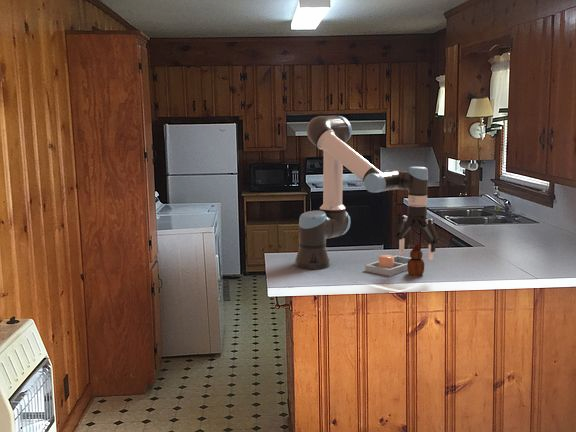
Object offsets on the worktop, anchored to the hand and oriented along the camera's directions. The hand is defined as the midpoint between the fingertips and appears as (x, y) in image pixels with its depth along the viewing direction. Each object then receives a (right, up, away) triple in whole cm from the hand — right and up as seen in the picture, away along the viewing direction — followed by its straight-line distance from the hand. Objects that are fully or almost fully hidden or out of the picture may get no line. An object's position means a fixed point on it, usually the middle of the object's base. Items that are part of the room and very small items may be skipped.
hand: (415, 257), depth 261 cm
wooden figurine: (0, -8, +2) cm, 9 cm away
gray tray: (-7, -6, +12) cm, 15 cm away
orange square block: (-11, -6, +8) cm, 15 cm away
